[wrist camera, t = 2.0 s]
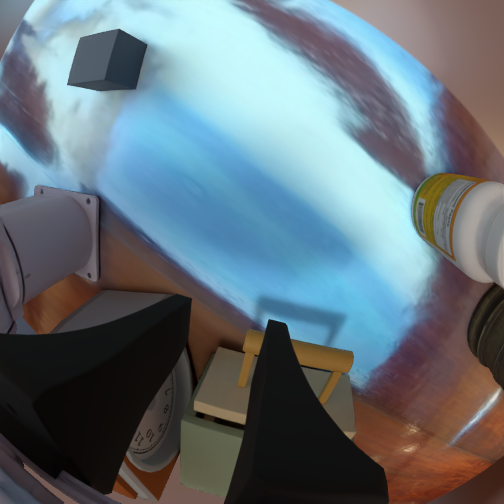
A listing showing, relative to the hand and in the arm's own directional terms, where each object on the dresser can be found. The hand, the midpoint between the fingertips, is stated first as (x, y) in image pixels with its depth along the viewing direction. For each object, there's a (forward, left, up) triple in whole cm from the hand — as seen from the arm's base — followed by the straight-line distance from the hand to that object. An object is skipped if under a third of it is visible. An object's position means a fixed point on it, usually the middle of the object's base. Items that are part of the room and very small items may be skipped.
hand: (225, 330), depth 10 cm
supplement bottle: (+12, +6, -11) cm, 17 cm away
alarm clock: (-8, -14, -11) cm, 19 cm away
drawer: (+4, -13, -10) cm, 17 cm away
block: (-14, +12, -10) cm, 21 cm away
